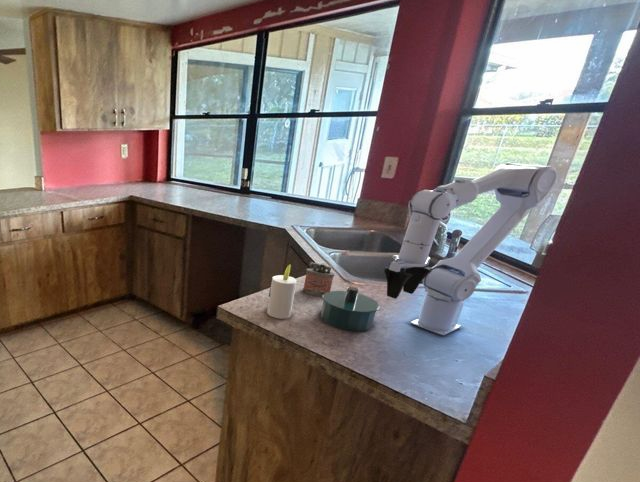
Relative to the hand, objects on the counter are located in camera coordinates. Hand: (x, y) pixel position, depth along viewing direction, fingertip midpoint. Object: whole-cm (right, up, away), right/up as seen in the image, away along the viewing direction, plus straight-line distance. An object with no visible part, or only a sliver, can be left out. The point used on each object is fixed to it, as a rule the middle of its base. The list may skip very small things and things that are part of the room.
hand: (399, 294), depth 101 cm
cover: (-8, -2, +8) cm, 12 cm away
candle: (-26, -6, +13) cm, 29 cm away
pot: (-8, -7, +10) cm, 15 cm away
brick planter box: (-9, 0, +27) cm, 28 cm away
